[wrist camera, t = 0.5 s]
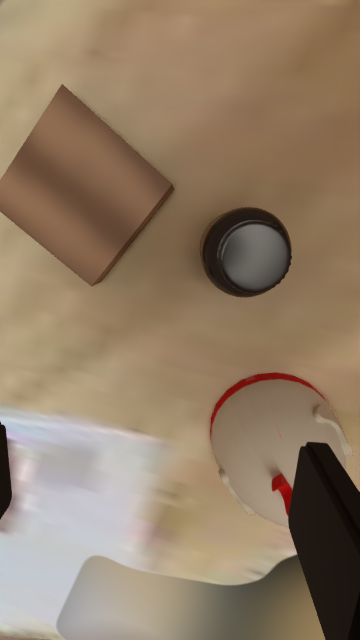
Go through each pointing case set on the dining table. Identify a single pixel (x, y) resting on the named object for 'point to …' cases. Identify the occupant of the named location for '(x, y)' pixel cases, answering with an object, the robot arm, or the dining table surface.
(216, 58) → the dining table surface
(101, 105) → the dining table surface
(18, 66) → the dining table surface
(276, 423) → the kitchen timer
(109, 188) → the base block
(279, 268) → the supplement bottle
